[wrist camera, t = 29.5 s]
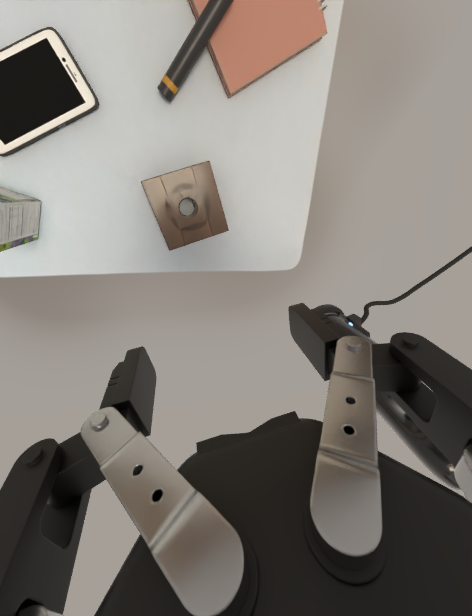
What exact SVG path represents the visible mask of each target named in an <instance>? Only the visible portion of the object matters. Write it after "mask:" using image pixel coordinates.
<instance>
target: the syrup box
mask: <svg viewBox="0 0 472 616" xmlns="http://www.w3.org/2000/svg"><path fill="white" fill-rule="evenodd" d="M40 206H41V201H40V200H37V199H34V198H31V197H28V196H25V195H21V194H18V193H15V192H12V191H9V190H6V189H3V188H0V252H1V251H4V250H7V249H10V248H13V247H16V246H19V245H21V244H25V243H28V242H31V241H34V240H37V239H38V229H39V218H40Z"/></svg>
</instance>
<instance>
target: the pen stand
mask: <svg viewBox="0 0 472 616" xmlns="http://www.w3.org/2000/svg"><path fill="white" fill-rule="evenodd" d="M141 183H142V185H143V188H144V190H145V193H146V195H147V197H148V200H149V202H150V205H151V207H152V209H153V212H154V214H155V217H156V219H157V221H158V224H159V226H160V229H161V231H162V233H163V236H164V238H165V241H166V243H167V245H168V248H169V250H173V249H176V248H179V247H182V246H185V245H188V244H190V243H193V242H196V241H199V240H202V239H205V238H208V237H211V236H214V235H217V234H220V233H223V232H226V231H229V230H228V226H227V222H226V219H225V215H224V212H223V208H222V204H221V201H220V197H219V194H218V190H217V186H216V183H215V179H214V176H213V172H212V168H211V165H210V161H207V162H203V163H200V164H197V165H193V166H190V167H187V168H184V169H180V170H177V171H174V172H170V173H167V174H164V175H161V176H157V177H154V178H151V179H147V180H144V181H141ZM184 198H190V199H192V201H193V202H194V204H195V210H194V212H193V213H192V214H191V215H189V216H184V215H183V214H181V213H180V211H179V204H180V201H181V200H182V199H184Z"/></svg>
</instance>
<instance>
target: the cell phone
mask: <svg viewBox="0 0 472 616" xmlns="http://www.w3.org/2000/svg"><path fill="white" fill-rule="evenodd" d="M32 35H34V36H32ZM31 36H32V37H31ZM29 37H30V38H29ZM27 38H28V39H27ZM25 39H26V40H25ZM23 40H24V41H23ZM21 41H22V42H21ZM19 42H20V43H19ZM17 43H18V44H17ZM15 44H16V45H15ZM13 45H14V46H13ZM97 107H98V100H97V97H96V95H95V94H94V92H93V90H92V88H91V87H90V85H89V83H88V81H87V80H86V78H85V76H84V75H83V73H82V71H81V69H80V68H79V66H78V64H77V63H76V61H75V59H74V57H73V56H72V54H71V52H70V51H69V49H68V47H67V45H66V44H65V42H64V40H63V39H62V37H61V36H60V34H59V33H58V32H57V31H56V30H55V29H54V28H53V27H47V28H43V29H41V30H38V31H36V32H34V33H32V34H30V35H28V36H26V37H25V38H23V39H21V40H19V41H17V42H15V43H13V44H11V45H9V46H7V47H5V48H3V49H1V50H0V156H7V155H10V154H12V153H14V152H15V151H17V150H19V149H21V148H23V147H25V146H27V145H29V144H31V143H33V142H35V141H36V140H38V139H40V138H42V137H44V136H46V135H48V134H50V133H52V132H54V131H56V130H57V129H59V128H58V127H60V126H62V125H64V124H65V125H67V124H69V123H71V122H73V121H75V120H77V119H78V118H80V117H82V116H84V115H86V114H88V113H90V112H92V111H93V110H95V109H96V108H97Z"/></svg>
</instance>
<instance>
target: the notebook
mask: <svg viewBox="0 0 472 616" xmlns="http://www.w3.org/2000/svg"><path fill="white" fill-rule="evenodd" d="M208 1H209V0H189V3H190V5H191V7H192V10H193V12H194V15H195V17H196V20H198V18H199V16H200V14H201V13H202V11H203V9H204V8H205V6H206V4H207V3H208ZM323 1H324V0H234V1H233V2H232V4H231V5H230V7H229V9H228V10H227V12H226V14H225V15H224V17H223V18H222V20H221V22H220V23H219V25H218V26H217V28H216V30H215V31H214V33H213V34H212V36H211V38H210V39H209V41H208V42H207V46H208V49H209V51H210V54H211V56H212V59H213V61H214V64H215V66H216V68H217V71H218V73H219V76H220V78H221V81H222V83H223V85H224V88H225V90H226V93H227V95H228V98H229V97H231V96H232V95H234V94H235V93H237V92H239V91H240V90H242V89H243V88H245V87H246V86H248V85H250V84H251V83H253V82H254V81H256V80H257V79H259V78H261V77H262V76H264V75H265V74H267V73H268V72H270V71H272V70H273V69H275V68H276V67H278V66H279V65H281V64H283V63H284V62H286V61H287V60H289V59H290V58H292V57H294V56H295V55H297V54H298V53H300V52H301V51H303V50H305V49H306V48H308V47H309V46H311V45H312V44H314V43H316V42H317V41H319V40H320V39H322V36H324V35H325V34H327V29H326V24H325V20H324V15H323V10H324V9H325V8H326V7H327V3H325V4H324V5H321V4H322V3H323Z"/></svg>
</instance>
